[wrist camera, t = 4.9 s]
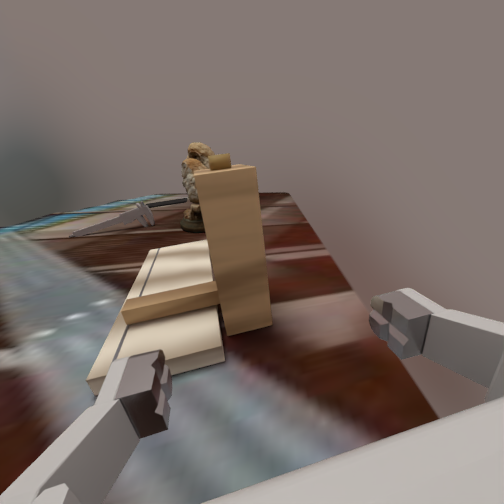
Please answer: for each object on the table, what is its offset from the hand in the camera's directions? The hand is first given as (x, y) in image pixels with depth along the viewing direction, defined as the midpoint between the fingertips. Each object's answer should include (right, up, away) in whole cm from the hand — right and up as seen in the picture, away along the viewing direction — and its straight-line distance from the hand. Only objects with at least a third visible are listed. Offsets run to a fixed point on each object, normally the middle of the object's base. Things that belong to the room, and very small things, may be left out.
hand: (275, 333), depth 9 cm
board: (-10, -1, +19) cm, 21 cm away
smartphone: (-32, +20, +77) cm, 85 cm away
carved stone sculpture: (-12, +10, +47) cm, 49 cm away
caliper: (-35, +8, +49) cm, 61 cm away
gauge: (-6, -3, +13) cm, 15 cm away
